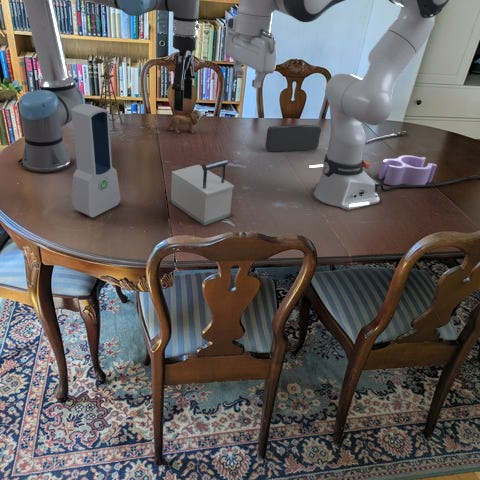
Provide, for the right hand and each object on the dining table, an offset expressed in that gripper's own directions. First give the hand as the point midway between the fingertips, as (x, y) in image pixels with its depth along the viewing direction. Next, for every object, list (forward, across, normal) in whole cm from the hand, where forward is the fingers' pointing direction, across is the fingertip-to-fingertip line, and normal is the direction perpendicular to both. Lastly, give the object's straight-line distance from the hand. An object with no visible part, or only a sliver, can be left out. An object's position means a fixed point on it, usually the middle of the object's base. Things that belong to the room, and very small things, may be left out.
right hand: (247, 82), depth 124 cm
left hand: (+16, +32, +4) cm, 36 cm away
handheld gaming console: (+38, +36, -47) cm, 70 cm away
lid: (+29, +3, +10) cm, 31 cm away
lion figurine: (+39, +67, -12) cm, 78 cm away
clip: (+38, -2, -72) cm, 82 cm away
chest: (+39, +4, +10) cm, 40 cm away
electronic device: (+39, +15, +38) cm, 57 cm away
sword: (+37, +34, -99) cm, 111 cm away
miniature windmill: (+39, +81, +15) cm, 91 cm away
